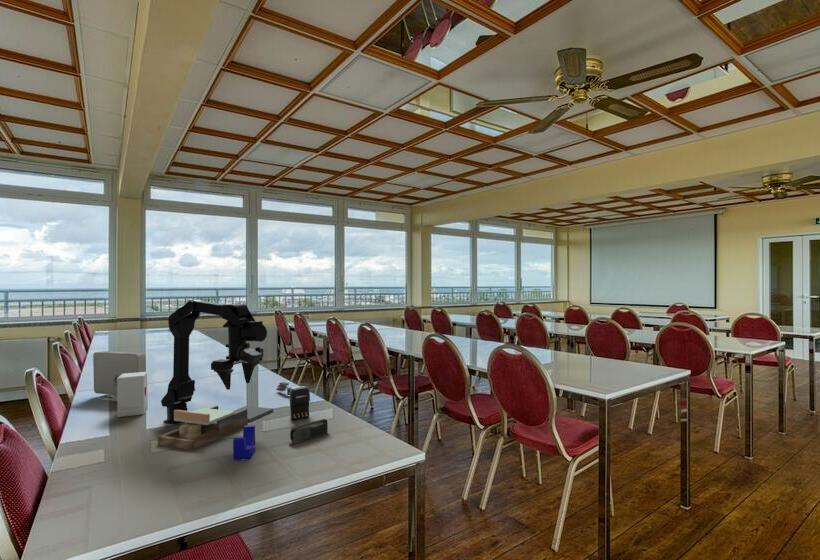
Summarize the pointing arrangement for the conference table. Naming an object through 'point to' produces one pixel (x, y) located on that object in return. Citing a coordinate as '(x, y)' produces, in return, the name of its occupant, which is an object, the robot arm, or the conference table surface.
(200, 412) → the sliding cover
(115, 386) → the network device
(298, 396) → the battery charger
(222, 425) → the wooden box
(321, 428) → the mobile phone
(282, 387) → the extruded letter logo
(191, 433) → the beech block
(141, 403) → the supplement box
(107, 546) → the conference table surface
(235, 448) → the cable clip
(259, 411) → the charcoal mat
